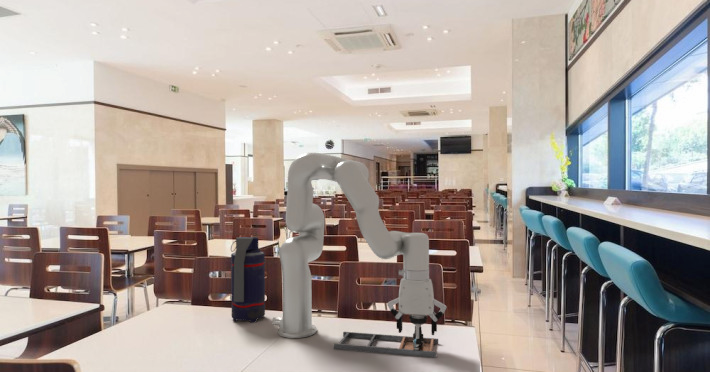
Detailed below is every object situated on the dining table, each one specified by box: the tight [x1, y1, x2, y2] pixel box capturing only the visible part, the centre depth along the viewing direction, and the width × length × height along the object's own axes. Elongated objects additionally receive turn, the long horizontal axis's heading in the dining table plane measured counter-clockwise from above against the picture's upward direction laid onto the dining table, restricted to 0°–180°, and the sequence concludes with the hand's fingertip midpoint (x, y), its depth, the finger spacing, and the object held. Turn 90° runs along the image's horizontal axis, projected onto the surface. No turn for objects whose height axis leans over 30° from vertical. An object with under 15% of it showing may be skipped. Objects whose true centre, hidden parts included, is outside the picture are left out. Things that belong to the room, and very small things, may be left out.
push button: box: [408, 315, 428, 350], centre depth 129 cm, size 7×5×10 cm
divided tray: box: [333, 331, 439, 359], centre depth 131 cm, size 30×11×2 cm, turn 76°
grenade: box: [230, 236, 266, 324], centre depth 159 cm, size 14×12×30 cm
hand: (416, 332), depth 129 cm, fingers open, 9 cm apart
